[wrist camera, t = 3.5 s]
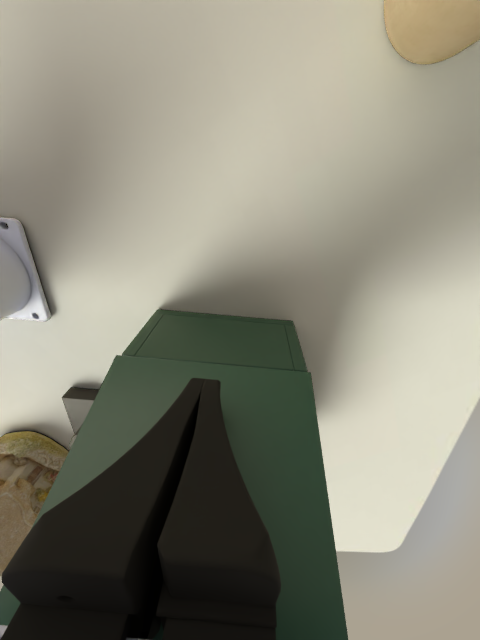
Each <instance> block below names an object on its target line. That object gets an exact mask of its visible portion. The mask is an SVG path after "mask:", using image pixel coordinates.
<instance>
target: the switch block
mask: <svg viewBox="0 0 480 640" xmlns="http://www.w3.org/2000/svg"><path fill="white" fill-rule="evenodd" d="M98 391H99V390H95V389H84V388H72V387H71V388H70V389H69V390H68V391H67V392H66V393H65V394H64V396H63V397H62V400H63V403H64V405H65V408H66V411H67V414H68V417H69V420H70V422H71V425H72V428H73V431H74V434H75V435H74V436H73V438H72V440H71V442H70V443H69V447H70V449H71V447H72V444H73V442H74V440H75V438H76V436H77V434H78V432H79V430H80V428H81V426H82V424H83V422H84V420H85V418H86V416H87V414H88V412H89V410H90V408H91V406H92V404H93V402H94V400H95V398H96V396H97V394H98Z"/></svg>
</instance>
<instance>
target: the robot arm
mask: <svg viewBox="0 0 480 640" xmlns="http://www.w3.org/2000/svg"><path fill="white" fill-rule="evenodd" d="M5 223H6V224H7V225H8V228H7V227H6V225H5ZM37 314H38V315H37ZM4 318H10V319H21V320H33V321H47V320H49V319H50V318H51V314H50V311H49V308H48V305H47V302H46V298H45V295H44V292H43V289H42V286H41V283H40V279H39V276H38V273H37V270H36V267H35V264H34V260H33V257H32V254H31V251H30V248H29V245H28V241H27V238H26V235H25V232H24V229H23V226H22V224H21V223H20V221H18V220H17V219H14V218H5V217H0V320H2V319H4ZM220 389H221V382H220V381H219V380H214V379H202V378H191V379H190V381H189V382H188V384H187V385H186V387H185V388H184V390H183V391H182V392H181V394H180V395H179V396H178V398H177V399H176V400H175V402H174V403H173V404H172V405H171V406H170V408H169V409H168V410H167V411H166V413H165V414H164V415H163V416H162V417H161V418H160V419H159V420H158V422H157V423H156V424H155V425H154V426H153V427H152V428H151V429H150V430H149V431H148V432H147V433H146V434H145V435H144V436H143V437H142V438H141V439H140V440H139V441H138V442H137V443H136V444H135V445H134V446H133V447H132V448H131V449H129V450H128V451H127V452H126V453H125V454H124V455H123V456H122V457H120V458H119V459H118V460H117V461H116V462H115V463H113V464H112V465H111V466H110V467H108V468H107V469H106V470H105V471H103V472H102V473H101V474H99V475H98V476H97V477H95V478H94V479H93V480H92V481H90V482H89V483H88V484H86V485H85V486H84V487H82V488H81V489H79V490H78V491H77V492H75V493H74V494H72V495H71V496H69V497H68V498H66V499H65V500H63V501H62V502H60V503H59V504H58V505H56V506H55V507H53V508H52V509H50V510H49V511H47V512H46V513H44V514H43V515H42V516H41V517H40V519H39V520H38V522H37V523H36V524H35V525H34V527H33V528H32V529H31V530H30V532H29V533H28V535H27V536H26V537H25V539H24V540H23V542H22V544H21V545H20V547H19V548H18V550H17V551H16V553H15V554H14V556H13V557H12V559H11V560H10V562H9V563H8V565H7V567H6V568H5V570H4V571H3V573H2V583H3V584H4V586H5V587H6V588H7V589H8V590H9V591H10V592H11V593H12V594H13V595H14V596H15V598H16V599H17V600H18V601H19V602H20V605H19V607H18V609H17V611H16V612H15V614H14V616H13V618H12V619H11V621H10V623H9V625H8V626H5V625H0V640H152V639H153V638H154V637H155V636H156V634H157V633H158V632H159V630H160V625H161V623H162V627H163V631H164V632H163V637H162V640H276V630H275V628H276V627H277V618H276V602H277V599H278V597H279V594H280V592H281V579H280V573H279V568H278V564H277V560H276V556H275V553H274V549H273V546H272V543H271V539H270V536H269V533H268V531H267V529H266V527H265V525H264V523H263V521H262V519H261V517H260V515H259V513H258V511H257V509H256V507H255V505H254V503H253V501H252V499H251V497H250V495H249V492H248V490H247V488H246V485H245V483H244V481H243V478H242V476H241V473H240V471H239V469H238V466H237V463H236V460H235V458H234V455H233V452H232V449H231V446H230V442H229V439H228V435H227V431H226V428H225V423H224V419H223V413H222V408H221V400H220Z"/></svg>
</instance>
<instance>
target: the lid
mask: <svg viewBox="0 0 480 640" xmlns="http://www.w3.org/2000/svg"><path fill="white" fill-rule="evenodd" d="M191 378H202V379H214V380H219V381H220V382H221V389H220V400H221V408H222V413H223V419H224V423H225V428H226V431H227V435H228V439H229V442H230V446H231V449H232V452H233V455H234V458H235V460H236V463H237V466H238V469H239V471H240V473H241V476H242V478H243V481H244V483H245V485H246V488H247V490H248V492H249V495H250V497H251V499H252V501H253V503H254V505H255V507H256V509H257V511H258V513H259V515H260V517H261V519H262V521H263V523H264V525H265V527H266V529H267V531H268V533H269V536H270V539H271V543H272V546H273V549H274V553H275V556H276V560H277V564H278V568H279V573H280V579H281V592H280V594H279V597H278V599H277V602H276V618H277V627H276V628H275V630H276V640H348V635H347V627H346V621H345V613H344V606H343V599H342V593H341V585H340V578H339V571H338V563H337V556H336V549H335V542H334V535H333V528H332V521H331V514H330V507H329V499H328V492H327V485H326V478H325V471H324V464H323V457H322V450H321V443H320V436H319V428H318V421H317V414H316V407H315V400H314V393H313V386H312V379H311V373H310V372H299V371H288V370H277V369H265V368H254V367H243V366H231V365H220V364H209V363H197V362H186V361H175V360H163V359H152V358H141V357H129V356H118V355H116V357H115V359H114V361H113V363H112V365H111V367H110V369H109V371H108V373H107V375H106V377H105V379H104V381H103V383H102V385H101V387H100V389H99V391H98V394H97V396H96V398H95V400H94V402H93V404H92V406H91V408H90V410H89V412H88V414H87V416H86V418H85V420H84V422H83V424H82V426H81V428H80V430H79V432H78V434H77V436H76V438H75V440H74V442H73V444H72V447H71V449H70V451H69V453H68V455H67V457H66V459H65V461H64V463H63V465H62V467H61V469H60V471H59V473H58V475H57V477H56V479H55V481H54V483H53V485H52V487H51V489H50V491H49V493H48V495H47V497H46V499H45V502H44V504H43V506H42V508H41V510H40V512H39V514H38V516H37V518H36V520H35V522H34V524H33V526H32V528H33V527H34V525H35V524H36V523H37V522H38V520H39V519H40V517H41V516H42V515H43V514H44V513H46V512H47V511H49V510H50V509H52V508H53V507H55V506H56V505H58V504H59V503H60V502H62V501H63V500H65V499H66V498H68V497H69V496H71V495H72V494H74V493H75V492H77V491H78V490H79V489H81V488H82V487H84V486H85V485H86V484H88V483H89V482H90V481H92V480H93V479H94V478H95V477H97V476H98V475H99V474H101V473H102V472H103V471H105V470H106V469H107V468H108V467H110V466H111V465H112V464H113V463H115V462H116V461H117V460H118V459H119V458H120V457H122V456H123V455H124V454H125V453H126V452H127V451H128V450H129V449H131V448H132V447H133V446H134V445H135V444H136V443H137V442H138V441H139V440H140V439H141V438H142V437H143V436H144V435H145V434H146V433H147V432H148V431H149V430H150V429H151V428H152V427H153V426H154V425H155V424H156V423H157V422H158V420H159V419H160V418H161V417H162V416H163V415H164V414H165V413H166V411H167V410H168V409H169V408H170V406H171V405H172V404H173V403H174V402H175V400H176V399H177V398H178V396H179V395H180V394H181V392H182V391H183V390H184V388H185V387H186V385H187V384H188V382H189V381H190V379H191ZM32 528H31V529H32ZM19 605H20V602H19V601H18V600H17V599H16V598H15V596H14V595H13V594H12V593H11V592H10V591H9V590H8V589H7V588H6V587H5V586H4V585H3V587H2V589H1V591H0V625H5V626H8V625H9V623H10V621H11V619H12V618H13V616H14V614H15V612H16V611H17V609H18V607H19ZM163 632H164V631H163V627H162V623H161V625H160V630H159V632H158V633H157V634H156V636H155V637H154V638H153V639H152V640H162V637H163Z"/></svg>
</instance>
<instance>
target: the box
mask: <svg viewBox="0 0 480 640" xmlns="http://www.w3.org/2000/svg"><path fill="white" fill-rule="evenodd" d="M122 356H129V357H141V358H152V359H163V360H175V361H186V362H197V363H209V364H220V365H231V366H243V367H254V368H265V369H277V370H288V371H299V372H307V367H306V364H305V361H304V357H303V354H302V350H301V347H300V344H299V340H298V337H297V333H296V330H295V327H294V324H293V321H285V320H273V319H262V318H250V317H239V316H227V315H216V314H204V313H193V312H181V311H170V310H157V311H156V312H155V313H154V314H153V316H152V317H151V318H150V319H149V321H148V322H147V323H146V324H145V326H144V327H143V328H142V329H141V331H140V332H139V333H138V334H137V336H136V337H135V338H134V340H133V341H132V342H131V343H130V345H129V346H128V347H127V348H126V350H125V351H124V352H123V353H122Z"/></svg>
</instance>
